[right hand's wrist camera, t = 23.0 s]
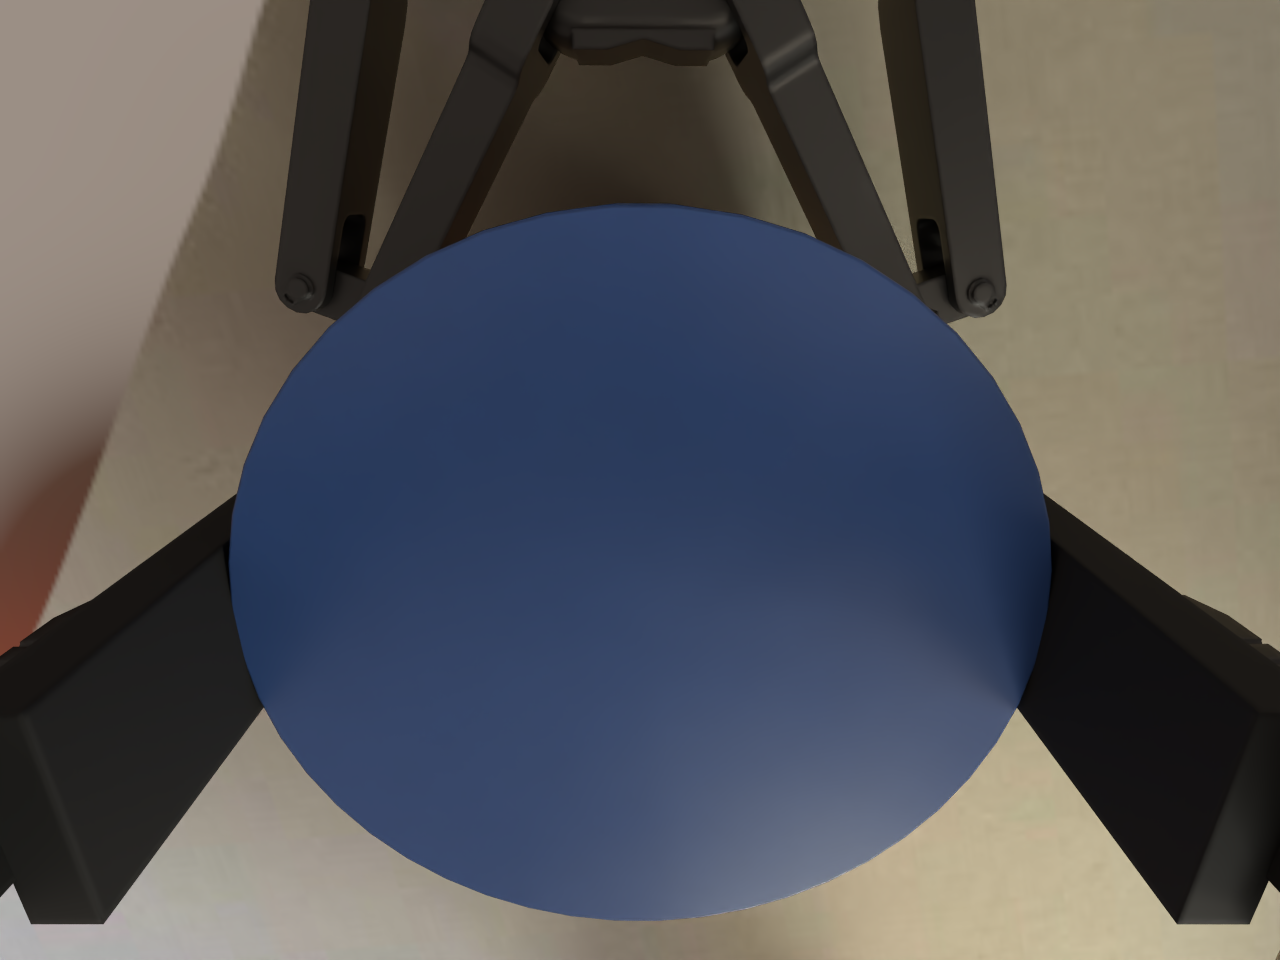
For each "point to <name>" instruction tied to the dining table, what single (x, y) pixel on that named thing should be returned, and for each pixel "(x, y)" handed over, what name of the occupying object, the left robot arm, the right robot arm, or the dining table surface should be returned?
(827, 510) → the lid
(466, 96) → the left robot arm
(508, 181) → the dining table surface
